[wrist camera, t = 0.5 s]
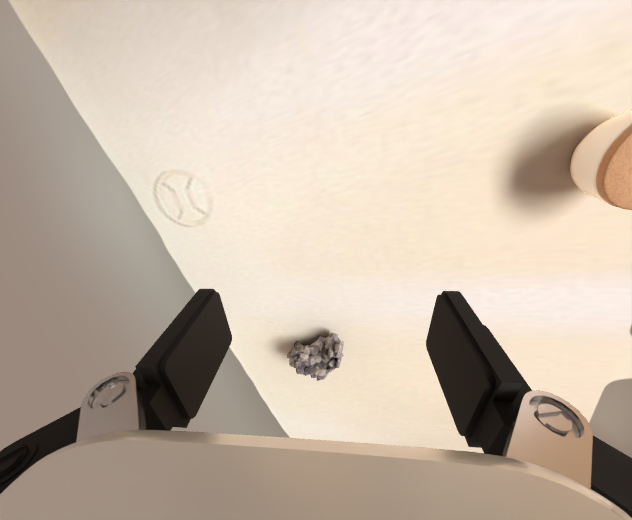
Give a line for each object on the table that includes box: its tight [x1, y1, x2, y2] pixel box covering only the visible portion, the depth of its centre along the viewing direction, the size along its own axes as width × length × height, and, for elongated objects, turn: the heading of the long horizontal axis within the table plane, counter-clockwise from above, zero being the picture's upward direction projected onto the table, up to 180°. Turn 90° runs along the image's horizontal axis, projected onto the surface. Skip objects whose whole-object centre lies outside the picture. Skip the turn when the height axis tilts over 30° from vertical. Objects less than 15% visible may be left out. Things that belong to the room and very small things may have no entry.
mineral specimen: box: [287, 333, 343, 381], centre depth 51 cm, size 12×9×10 cm
